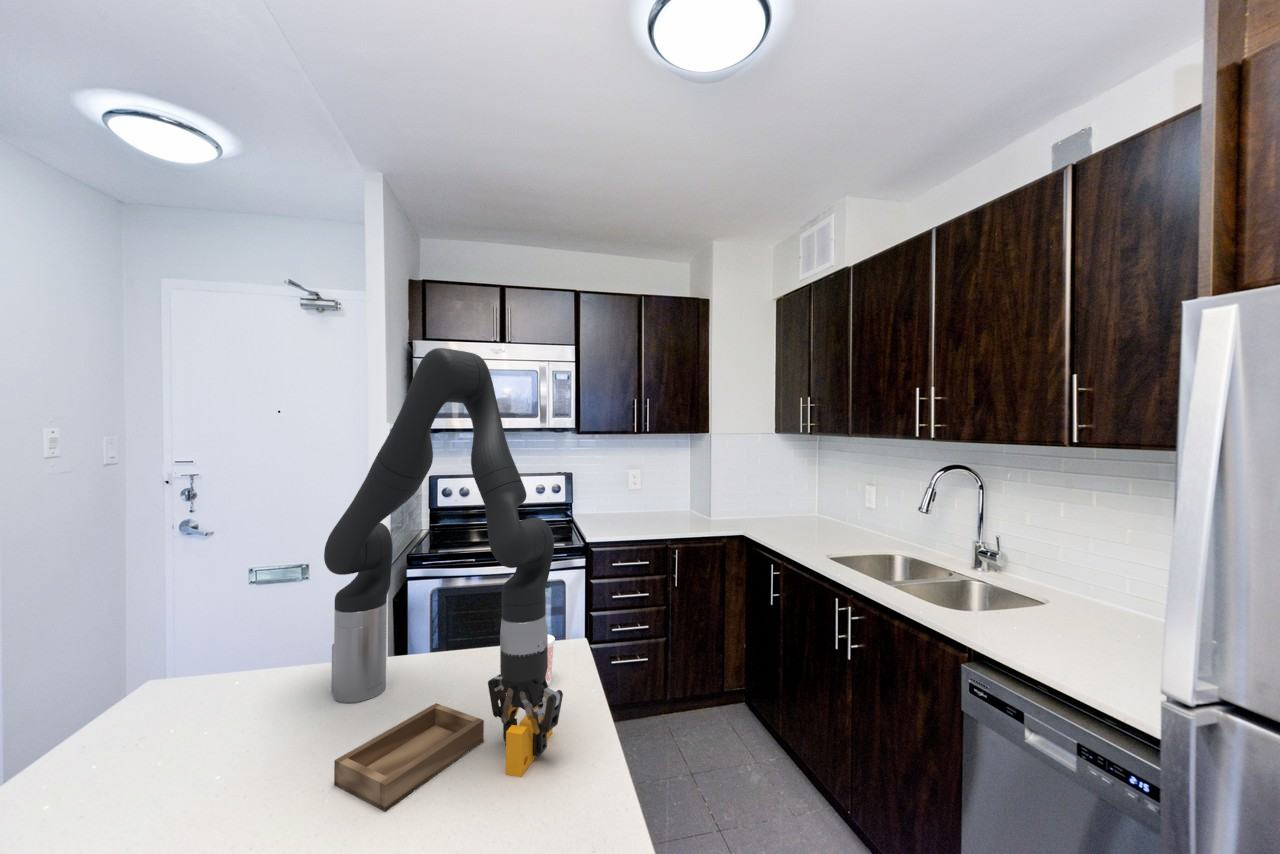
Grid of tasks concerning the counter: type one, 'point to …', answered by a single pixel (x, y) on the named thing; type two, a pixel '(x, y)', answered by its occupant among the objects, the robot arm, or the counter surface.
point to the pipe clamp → (520, 747)
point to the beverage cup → (550, 658)
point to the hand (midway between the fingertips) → (524, 748)
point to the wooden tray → (407, 755)
